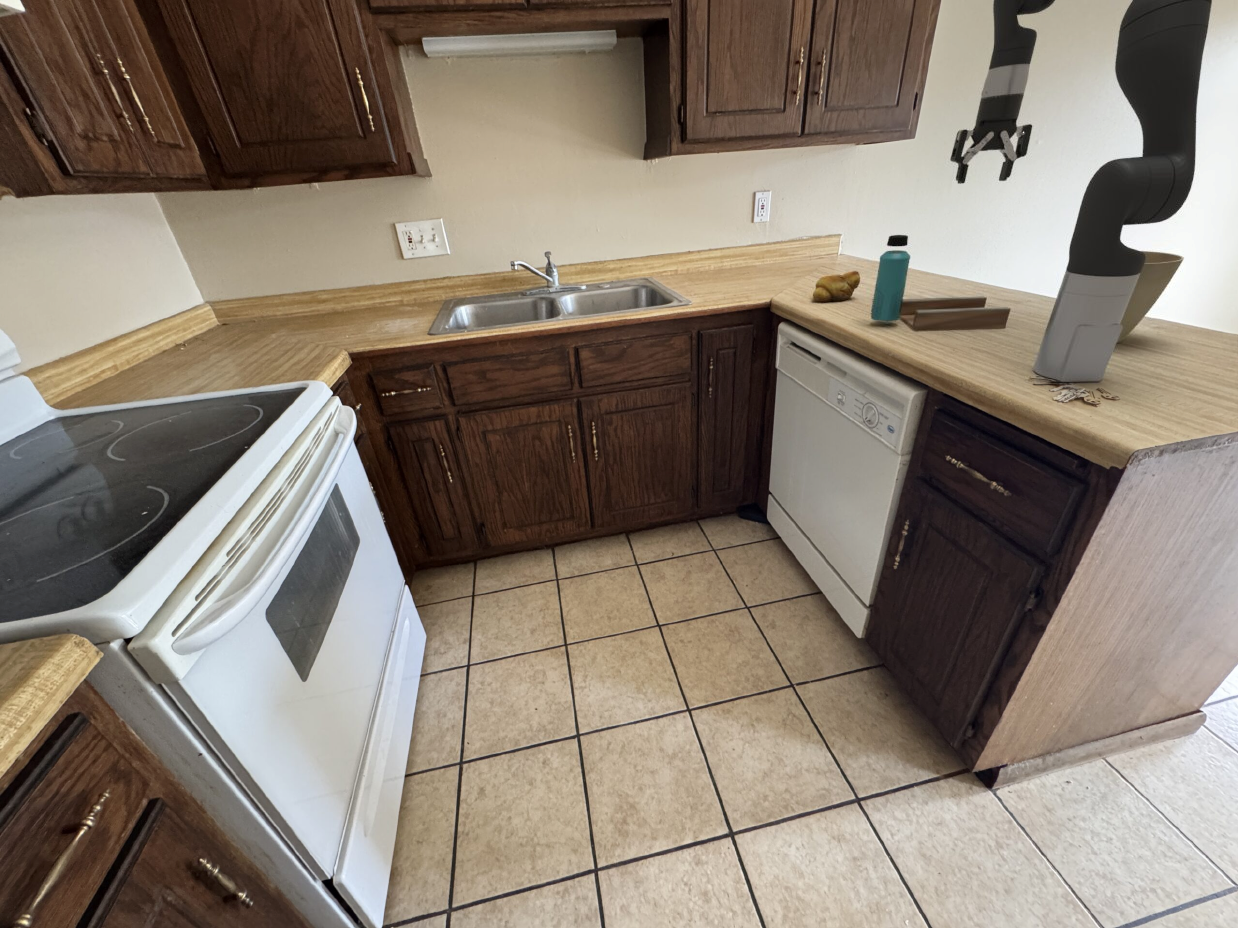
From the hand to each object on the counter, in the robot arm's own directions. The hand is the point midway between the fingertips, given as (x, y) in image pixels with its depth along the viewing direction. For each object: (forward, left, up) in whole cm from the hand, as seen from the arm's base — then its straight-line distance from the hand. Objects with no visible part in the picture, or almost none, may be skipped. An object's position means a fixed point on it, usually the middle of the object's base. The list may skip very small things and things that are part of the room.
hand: (981, 182), depth 117 cm
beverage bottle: (-8, +18, -29) cm, 36 cm away
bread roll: (+21, +24, -29) cm, 43 cm away
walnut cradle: (-8, +4, -29) cm, 30 cm away
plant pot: (-24, -19, -29) cm, 42 cm away
